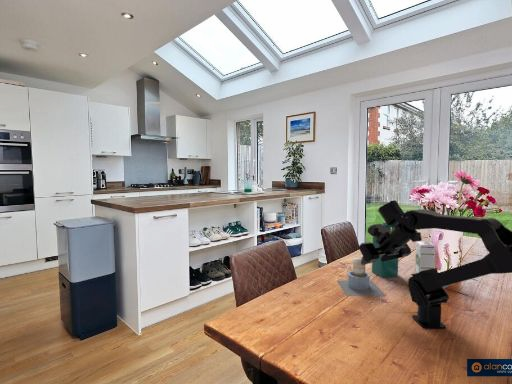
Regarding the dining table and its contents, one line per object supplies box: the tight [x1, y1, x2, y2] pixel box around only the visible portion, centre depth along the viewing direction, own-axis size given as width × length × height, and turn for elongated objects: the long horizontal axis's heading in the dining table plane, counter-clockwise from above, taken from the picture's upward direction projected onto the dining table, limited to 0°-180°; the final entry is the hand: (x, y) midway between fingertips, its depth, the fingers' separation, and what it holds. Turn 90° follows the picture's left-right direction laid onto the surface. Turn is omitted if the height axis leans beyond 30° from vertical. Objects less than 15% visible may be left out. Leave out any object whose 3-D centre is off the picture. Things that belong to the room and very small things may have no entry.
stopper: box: [352, 256, 366, 277], centre depth 111 cm, size 4×4×10 cm
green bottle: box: [371, 222, 400, 278], centre depth 124 cm, size 10×8×22 cm
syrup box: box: [414, 241, 436, 273], centre depth 120 cm, size 6×6×14 cm
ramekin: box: [346, 270, 371, 290], centre depth 111 cm, size 8×8×4 cm
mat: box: [336, 280, 387, 297], centre depth 109 cm, size 14×14×1 cm
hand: (371, 262), depth 105 cm, fingers open, 9 cm apart
